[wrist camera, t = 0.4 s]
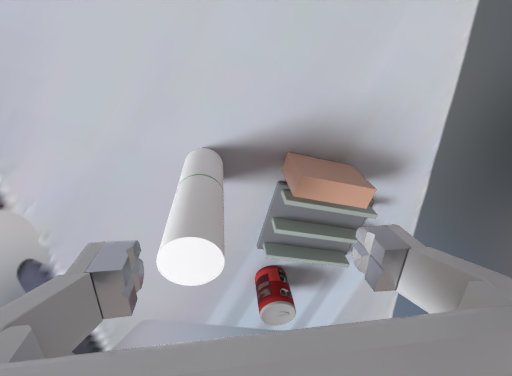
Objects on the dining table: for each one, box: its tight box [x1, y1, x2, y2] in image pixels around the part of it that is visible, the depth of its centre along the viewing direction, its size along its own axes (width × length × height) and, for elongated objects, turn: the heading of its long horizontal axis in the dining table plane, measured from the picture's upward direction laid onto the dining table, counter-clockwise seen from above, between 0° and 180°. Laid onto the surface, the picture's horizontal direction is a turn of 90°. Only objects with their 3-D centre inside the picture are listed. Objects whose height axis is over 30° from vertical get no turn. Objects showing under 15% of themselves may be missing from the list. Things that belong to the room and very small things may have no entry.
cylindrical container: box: [157, 148, 225, 286], centre depth 39 cm, size 7×7×25 cm
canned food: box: [255, 266, 296, 325], centre depth 62 cm, size 8×8×11 cm
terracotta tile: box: [282, 152, 377, 209], centre depth 49 cm, size 4×14×10 cm, turn 75°
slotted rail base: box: [257, 182, 377, 267], centre depth 57 cm, size 17×22×5 cm
